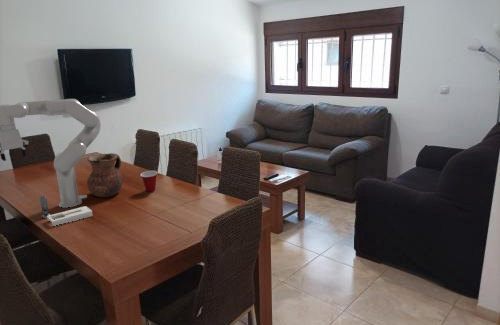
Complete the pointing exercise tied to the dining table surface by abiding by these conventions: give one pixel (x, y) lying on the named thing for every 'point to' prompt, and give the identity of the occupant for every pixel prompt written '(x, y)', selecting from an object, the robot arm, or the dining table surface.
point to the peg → (44, 206)
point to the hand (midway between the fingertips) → (14, 158)
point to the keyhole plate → (70, 215)
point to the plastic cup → (149, 180)
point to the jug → (104, 175)
